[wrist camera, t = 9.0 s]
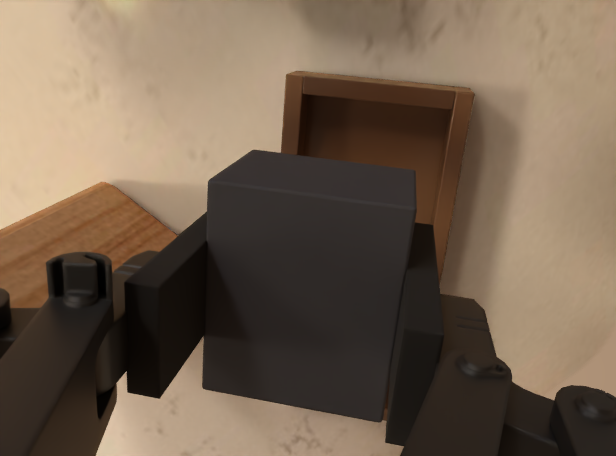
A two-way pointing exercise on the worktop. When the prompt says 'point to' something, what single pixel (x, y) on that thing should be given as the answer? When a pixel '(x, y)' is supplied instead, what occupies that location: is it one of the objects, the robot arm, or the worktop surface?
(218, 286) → the dark grey block
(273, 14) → the worktop surface
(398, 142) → the holder
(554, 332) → the worktop surface
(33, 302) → the decorative item
